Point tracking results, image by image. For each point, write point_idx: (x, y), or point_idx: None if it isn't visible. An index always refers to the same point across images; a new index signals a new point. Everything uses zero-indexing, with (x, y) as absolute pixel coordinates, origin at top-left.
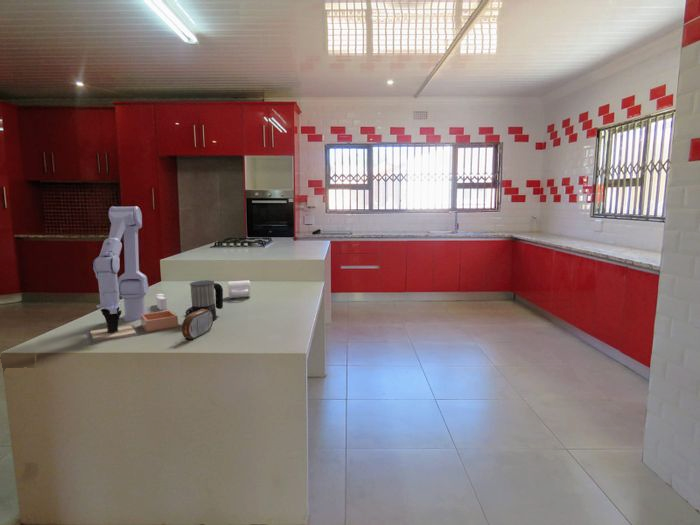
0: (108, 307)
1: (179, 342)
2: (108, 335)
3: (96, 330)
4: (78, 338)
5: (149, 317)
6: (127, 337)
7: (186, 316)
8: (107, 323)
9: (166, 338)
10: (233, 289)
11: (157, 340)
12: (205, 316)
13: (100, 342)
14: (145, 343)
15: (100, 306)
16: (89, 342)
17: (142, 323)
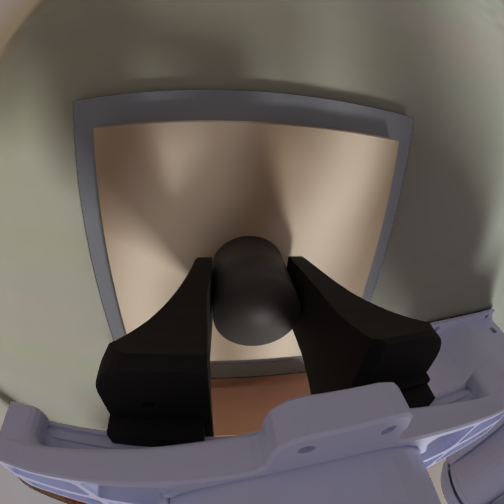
0: (52, 478)
1: (18, 400)
2: (157, 232)
3: (371, 177)
4: (340, 49)
5: None
6: (107, 313)
7: (25, 482)
8: (197, 290)
9: (63, 398)
10: None
11: (47, 377)
12: None
13: (77, 168)
14: (20, 343)
15: (258, 456)
16: (119, 95)
17: (274, 397)
